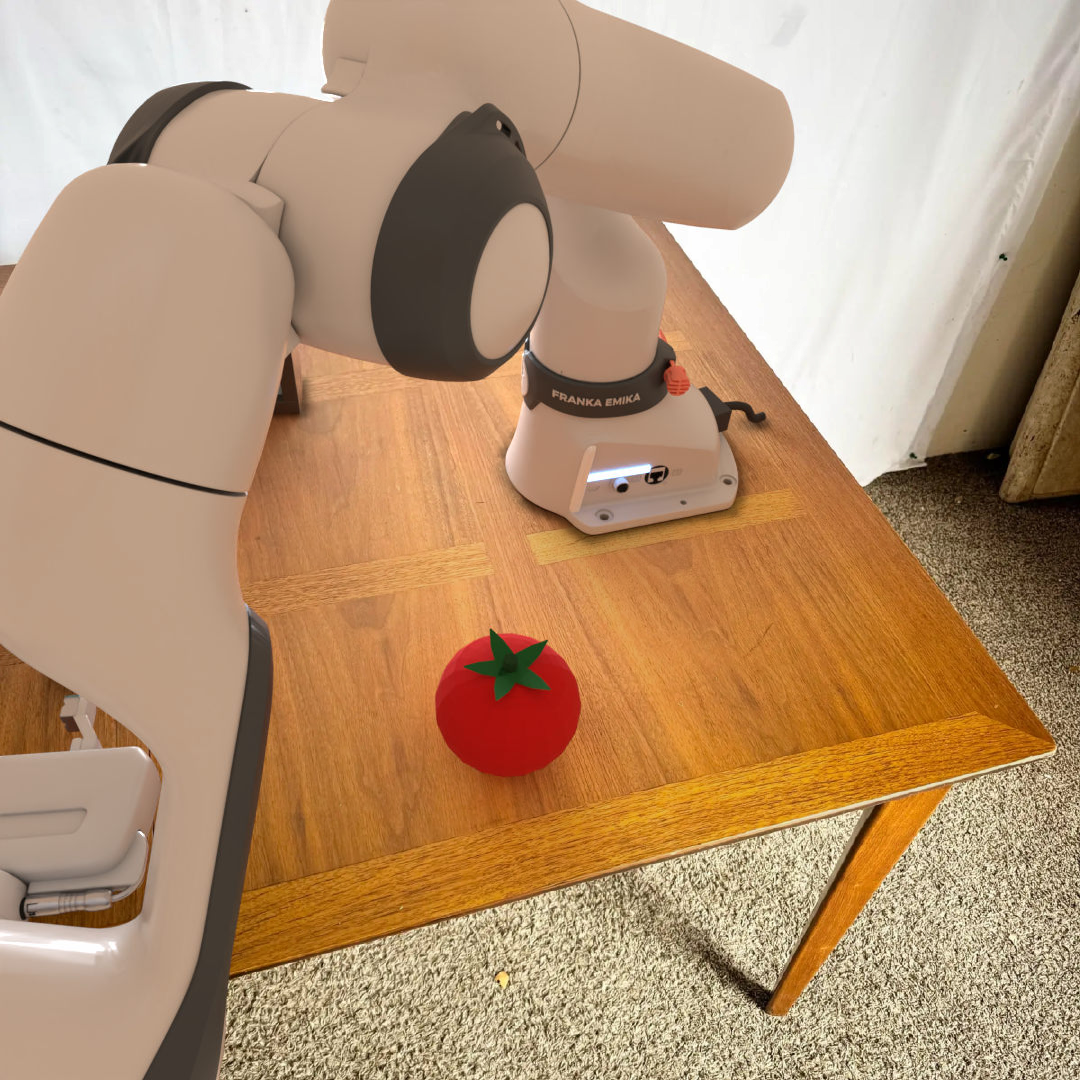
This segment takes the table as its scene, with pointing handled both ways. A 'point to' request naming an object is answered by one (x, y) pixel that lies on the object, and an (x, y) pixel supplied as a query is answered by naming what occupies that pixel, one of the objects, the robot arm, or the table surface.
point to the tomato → (507, 704)
